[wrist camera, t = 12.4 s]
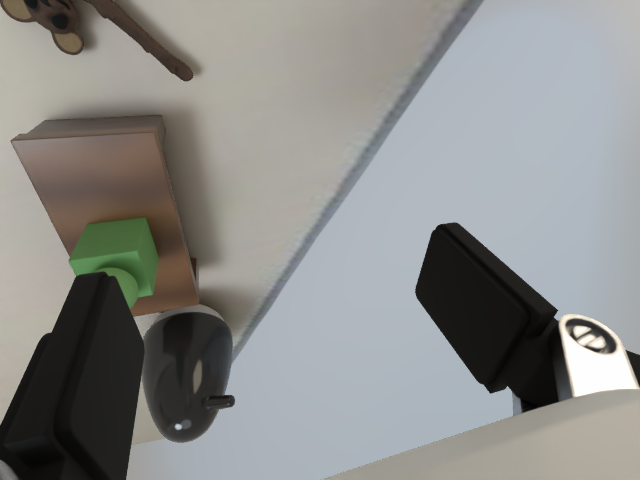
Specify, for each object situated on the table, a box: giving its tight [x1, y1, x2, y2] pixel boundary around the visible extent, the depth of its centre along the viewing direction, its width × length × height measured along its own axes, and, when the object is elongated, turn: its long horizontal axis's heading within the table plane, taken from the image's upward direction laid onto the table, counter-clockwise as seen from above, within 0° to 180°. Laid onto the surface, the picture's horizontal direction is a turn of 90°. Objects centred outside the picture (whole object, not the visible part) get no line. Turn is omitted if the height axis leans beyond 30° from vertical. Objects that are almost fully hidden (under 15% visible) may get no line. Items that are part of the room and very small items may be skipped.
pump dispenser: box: [142, 304, 235, 443], centre depth 37 cm, size 10×10×15 cm
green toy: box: [69, 217, 159, 309], centre depth 25 cm, size 4×4×8 cm
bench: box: [11, 115, 199, 317], centre depth 31 cm, size 18×9×6 cm, turn 179°
